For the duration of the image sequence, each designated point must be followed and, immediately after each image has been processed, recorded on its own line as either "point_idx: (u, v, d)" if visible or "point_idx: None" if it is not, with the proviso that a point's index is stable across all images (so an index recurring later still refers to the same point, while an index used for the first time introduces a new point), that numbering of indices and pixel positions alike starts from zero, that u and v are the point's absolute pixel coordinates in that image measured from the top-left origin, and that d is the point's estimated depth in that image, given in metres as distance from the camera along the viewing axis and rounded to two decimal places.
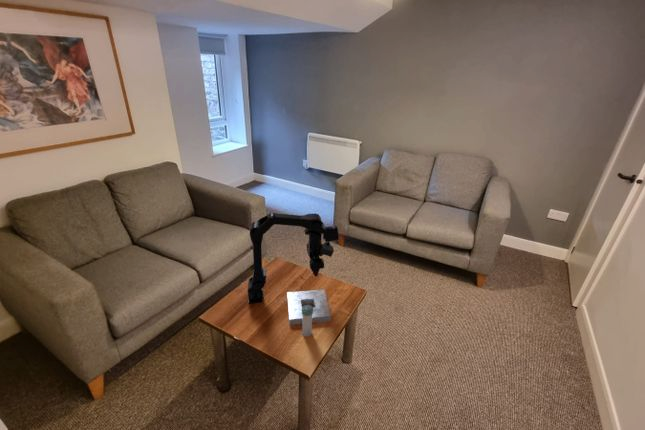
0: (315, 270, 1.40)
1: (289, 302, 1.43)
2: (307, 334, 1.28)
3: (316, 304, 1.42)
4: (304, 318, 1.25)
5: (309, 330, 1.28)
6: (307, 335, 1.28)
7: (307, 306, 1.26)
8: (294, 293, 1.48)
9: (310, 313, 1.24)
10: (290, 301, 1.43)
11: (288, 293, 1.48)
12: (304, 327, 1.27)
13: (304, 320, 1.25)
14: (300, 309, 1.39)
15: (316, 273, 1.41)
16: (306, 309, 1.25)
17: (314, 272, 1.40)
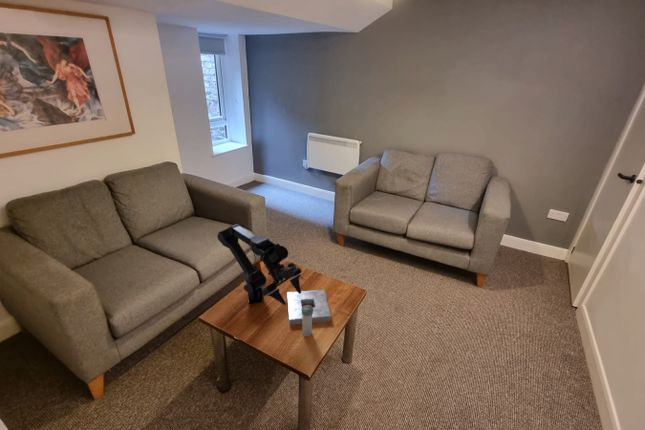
0: (277, 297, 1.26)
1: (289, 302, 1.43)
2: (307, 334, 1.28)
3: (316, 304, 1.42)
4: (304, 318, 1.25)
5: (309, 330, 1.28)
6: (307, 335, 1.28)
7: (307, 306, 1.26)
8: (294, 293, 1.48)
9: (310, 313, 1.24)
10: (290, 301, 1.43)
11: (288, 293, 1.48)
12: (304, 327, 1.27)
13: (304, 320, 1.25)
14: (300, 309, 1.39)
15: (281, 301, 1.26)
16: (306, 309, 1.25)
17: (278, 300, 1.26)
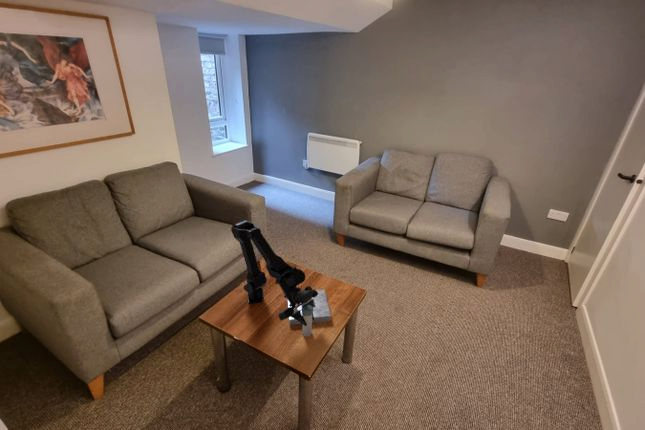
0: (298, 318, 1.25)
1: (289, 302, 1.43)
2: (307, 334, 1.28)
3: (316, 304, 1.42)
4: (304, 318, 1.25)
5: (309, 330, 1.28)
6: (307, 335, 1.28)
7: (307, 306, 1.26)
8: None
9: (310, 313, 1.24)
10: None
11: None
12: (304, 327, 1.27)
13: None
14: (300, 309, 1.39)
15: (302, 322, 1.25)
16: (306, 309, 1.25)
17: (299, 321, 1.25)
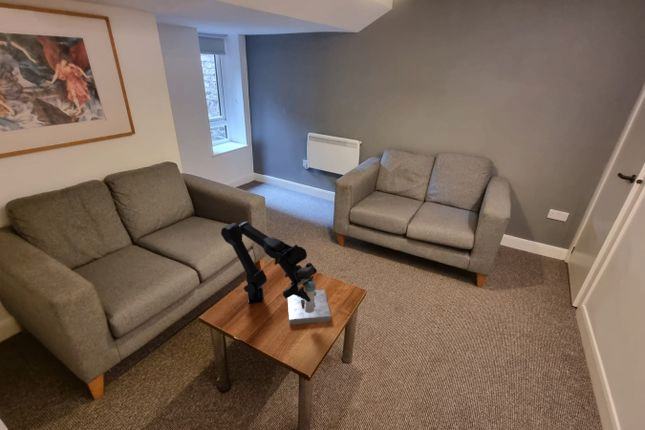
0: (301, 295, 1.27)
1: (289, 302, 1.43)
2: (310, 310, 1.31)
3: (316, 304, 1.42)
4: (307, 294, 1.28)
5: (312, 306, 1.31)
6: (310, 311, 1.31)
7: (309, 282, 1.29)
8: None
9: (313, 288, 1.27)
10: (290, 301, 1.43)
11: None
12: (307, 303, 1.30)
13: None
14: (300, 309, 1.39)
15: (306, 298, 1.28)
16: (309, 285, 1.27)
17: (303, 297, 1.28)
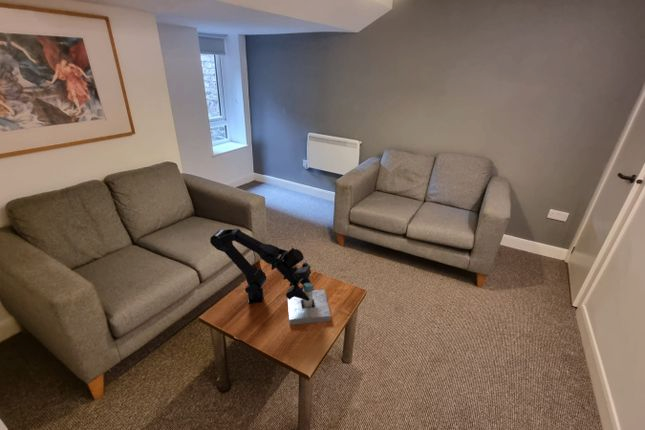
0: (301, 296, 1.35)
1: (289, 302, 1.43)
2: None
3: (316, 304, 1.42)
4: (307, 294, 1.38)
5: (311, 304, 1.41)
6: None
7: (307, 284, 1.39)
8: None
9: (312, 288, 1.37)
10: (290, 301, 1.43)
11: None
12: (307, 303, 1.40)
13: None
14: (300, 309, 1.39)
15: (305, 298, 1.36)
16: (307, 286, 1.38)
17: (302, 298, 1.36)
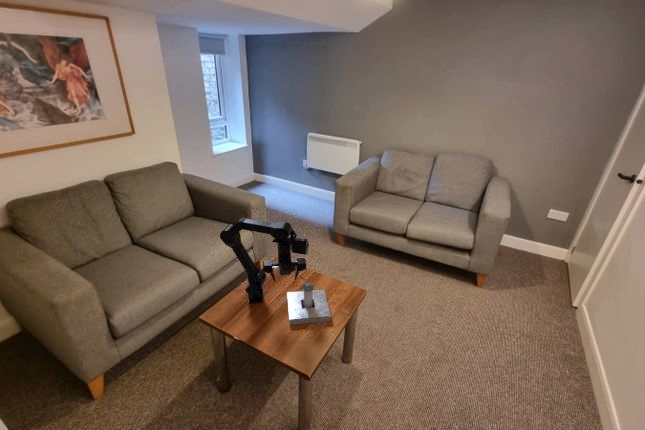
0: None
1: (289, 302, 1.43)
2: None
3: (316, 304, 1.42)
4: (307, 295, 1.38)
5: (311, 304, 1.41)
6: None
7: (306, 284, 1.39)
8: (294, 293, 1.48)
9: (312, 288, 1.37)
10: (290, 301, 1.43)
11: (288, 293, 1.48)
12: (307, 303, 1.40)
13: (307, 296, 1.38)
14: (300, 309, 1.39)
15: (272, 277, 1.39)
16: (307, 286, 1.38)
17: None
